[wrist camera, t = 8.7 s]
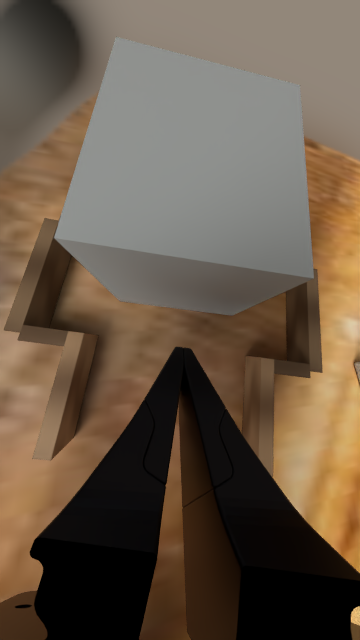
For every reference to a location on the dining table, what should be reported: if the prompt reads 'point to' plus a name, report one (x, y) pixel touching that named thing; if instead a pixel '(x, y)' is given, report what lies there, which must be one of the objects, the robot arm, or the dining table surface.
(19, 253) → the dining table surface
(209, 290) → the block
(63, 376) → the lane
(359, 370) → the light bulb box
